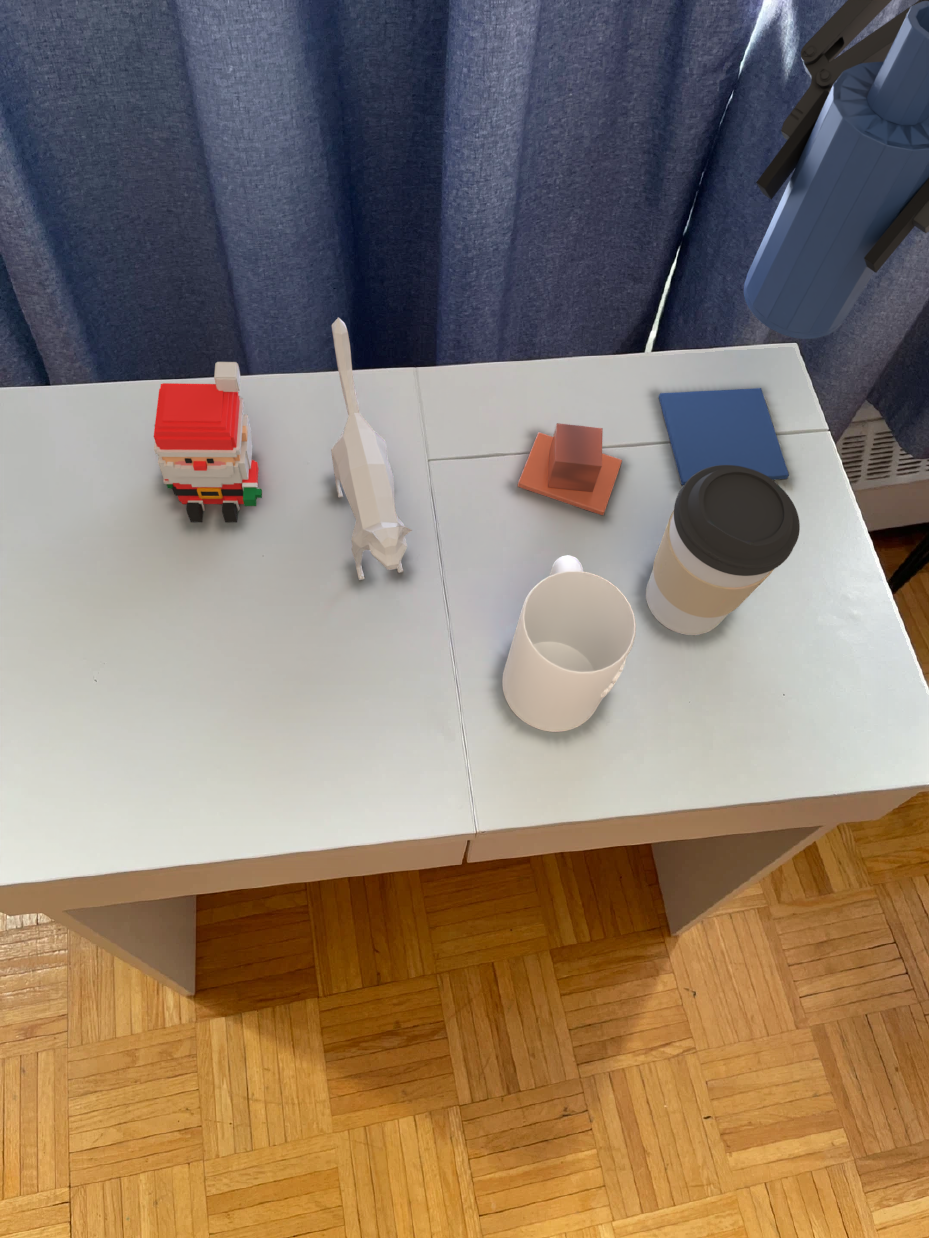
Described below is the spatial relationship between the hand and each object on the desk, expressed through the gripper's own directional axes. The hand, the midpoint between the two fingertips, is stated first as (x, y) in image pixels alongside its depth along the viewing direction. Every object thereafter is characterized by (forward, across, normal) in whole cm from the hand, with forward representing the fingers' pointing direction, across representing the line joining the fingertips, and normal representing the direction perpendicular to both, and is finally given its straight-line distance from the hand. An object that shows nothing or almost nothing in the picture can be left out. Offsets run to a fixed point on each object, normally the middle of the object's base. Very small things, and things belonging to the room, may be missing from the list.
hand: (816, 227), depth 62 cm
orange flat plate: (+26, +7, -11) cm, 29 cm away
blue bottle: (+4, 0, -8) cm, 9 cm away
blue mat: (+16, 0, -21) cm, 26 cm away
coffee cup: (+27, -9, -10) cm, 30 cm away
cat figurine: (+38, +15, +1) cm, 41 cm away
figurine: (+43, +26, +6) cm, 51 cm away
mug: (+36, -5, -1) cm, 37 cm away
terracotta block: (+25, +7, -10) cm, 28 cm away
